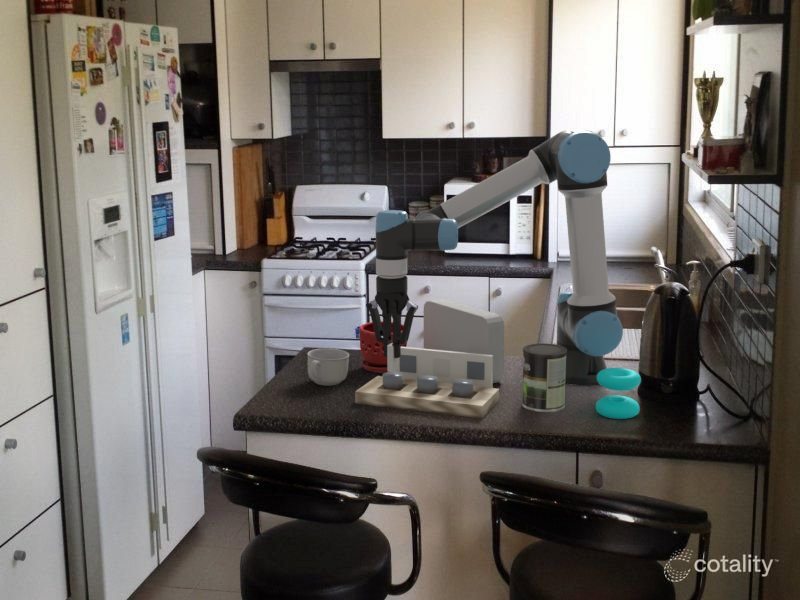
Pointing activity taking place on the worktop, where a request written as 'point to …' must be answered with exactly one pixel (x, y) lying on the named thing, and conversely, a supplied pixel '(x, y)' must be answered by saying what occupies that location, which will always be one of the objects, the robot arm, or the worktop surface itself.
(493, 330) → the rounded white slab
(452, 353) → the pattern card
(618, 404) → the donuts
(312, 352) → the teacup
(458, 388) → the button
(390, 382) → the button
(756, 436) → the worktop surface
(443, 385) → the button board
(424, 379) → the button centre
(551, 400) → the coffee can
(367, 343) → the plant pot
